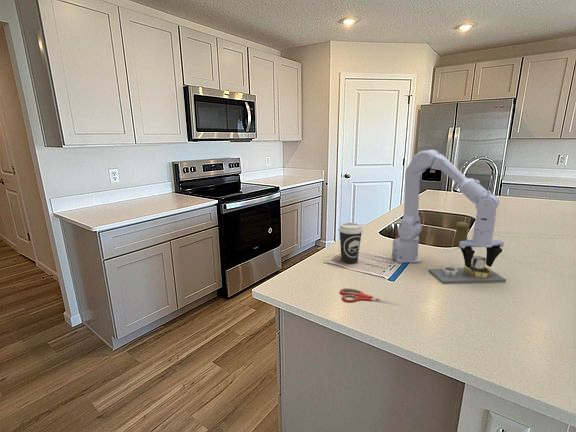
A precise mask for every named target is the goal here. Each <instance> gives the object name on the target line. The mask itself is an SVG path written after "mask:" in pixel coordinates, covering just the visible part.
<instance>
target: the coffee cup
mask: <svg viewBox="0 0 576 432" xmlns="http://www.w3.org/2000/svg"><path fill="white" fill-rule="evenodd" d="M363 229H364V228H363V227H362V225H361V224H360V223H357V222H343V223H341V224H340V226H339V227H338V232H339V240H340V241H339V242H340V243H339V245H340V258H341V259H340V260H341V262H343V263H344V264H349V265H351V264H352V265H353V264H356V263H358V260H359V255H360V247H361V246H360V245H361V239H362V233H363V232H364V230H363Z"/></svg>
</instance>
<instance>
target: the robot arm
mask: <svg viewBox="0 0 576 432" xmlns="http://www.w3.org/2000/svg"><path fill="white" fill-rule="evenodd" d="M411 159H412V160H411V161H410V162H409V164H408V165H407V167H406V169H405V173H404V175H405V177H404V200H403V201H404V206H403V217H402V219H401V221H400V225H399V228H398V229H397V230H398V232H397V234H398V236H399V237H397V238H394V239H393V241H392V246H391V247H392V249H391V254H390V255H391V257H392V258H393V259H394V260H395V261H396V262H397V263H398V264H400V263H402V264H404V263H422V260H421V259H420V258H419V257H418V254H419V245H420V237H419V235H420V234H421V233H422V231H423V226H422V223H421V217H420V215H419V205H420V204H419V202H420V201H419V200H420V183H421V181H420V179H421V175H422V174H423V173H424V172H426V171H427V169H431V170H437V171H438V170H439V171H441V172H442V173H444V174H445V175H446V176H447V177H449V179H451V180H452V181H454V182H455V183H456V184H457V185H458V190H459V192H461V193H462V194H463V195H464V196H465V198H467V199H468V200H469V201H471V203H472V204H475V209H476V210H477V211H476V215H475V218H474V219H475V220H474V225H473V233H472V239H467V240H466V241H460V243H459V246H460V247H459V248H460V250H461V252H462V253H461V254H462V256H463V259H464V267H465V266H467V267H470V266H471V263H472V257H473V256H475V253H476V251H475V250H474V249H473V248H485V249H486V257H485V259H486V260H485V266H486V267H488V268H491V267H492V266H493V264H494V262H495V261H496V259H497V257H498V256H499V255H500V254H501V253H503V248H504V243H505V241H502V240H501V239H500V240H498V239H493V236H494V230H495V225H496V224H495V223H496V219H497V217H496V215H497V210H496V209H497V208H498V207H499V205H500V199H499V198H498V197H497V195H496V194H494V193H492V192H491V190H490V189H489V190H487V189H486V188H485V187H483V185H482V184H480V183H481V181H480V180H478V179H474V178H473V177H472V178H468V177H466V175H464V174H463V173H462V172H461V171H460V170H459V169H458V168H457V167H456V166H455V165H454V164H453V163H451V161H450V160H448V159H447V158H446V156H445V155H443V154H441V153H440V152H439V151H438V150H436V149H428V150H425V149H423V150H421V151H419V152H417V153H416V154H414V156H412V158H411Z"/></svg>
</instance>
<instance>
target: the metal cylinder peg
mask: <svg viewBox="0 0 576 432" xmlns="http://www.w3.org/2000/svg"><path fill="white" fill-rule="evenodd" d="M484 266H486V257H484V256H481V255H473V257H472V262H471V270H473V271H477V272H484Z"/></svg>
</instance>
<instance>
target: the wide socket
mask: <svg viewBox="0 0 576 432" xmlns="http://www.w3.org/2000/svg"><path fill="white" fill-rule="evenodd" d="M463 268H464V273H465V274H467V275H469V276H471V277H474V278H480V279H487V278H489V277H490V276H491V270H492V269H491V268H490V267H489V266H487V265H485V266H484V272H477V271H473V270H471V266H470V267H467V266H465V265H464V267H463Z"/></svg>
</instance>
